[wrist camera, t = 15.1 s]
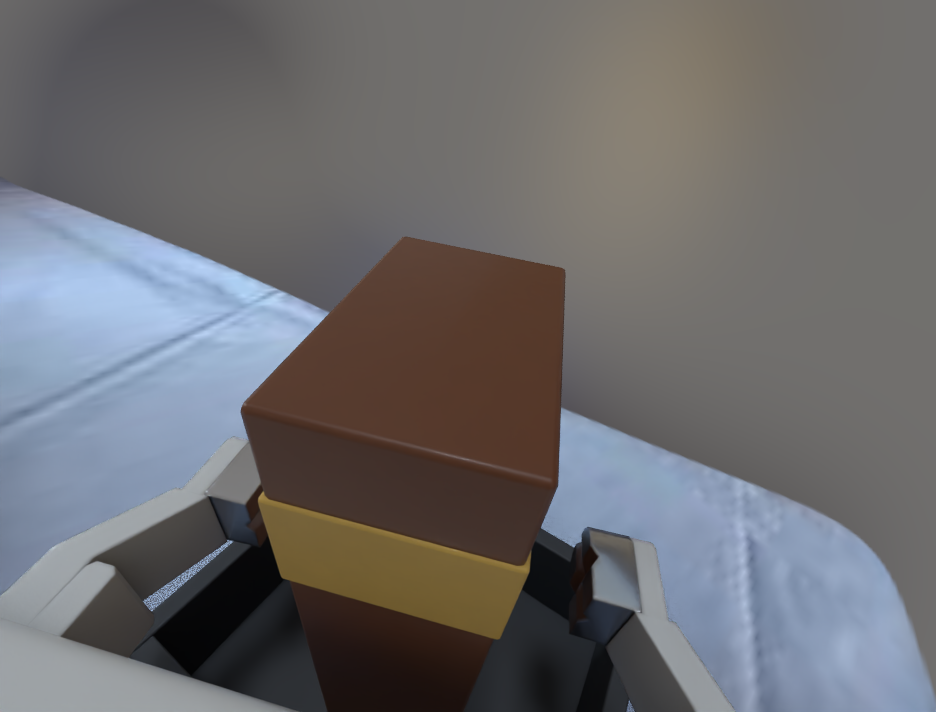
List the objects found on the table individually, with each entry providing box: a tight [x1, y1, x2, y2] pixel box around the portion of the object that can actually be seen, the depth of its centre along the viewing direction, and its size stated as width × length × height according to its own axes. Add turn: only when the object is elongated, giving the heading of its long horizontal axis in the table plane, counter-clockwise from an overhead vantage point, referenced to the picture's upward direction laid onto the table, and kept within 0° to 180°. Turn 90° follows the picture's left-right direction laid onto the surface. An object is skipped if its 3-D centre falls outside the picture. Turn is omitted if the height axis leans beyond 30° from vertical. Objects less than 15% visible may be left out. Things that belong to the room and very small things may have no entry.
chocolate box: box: [241, 237, 565, 712], centre depth 10 cm, size 3×5×14 cm, turn 168°
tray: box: [129, 528, 629, 712], centre depth 13 cm, size 12×10×4 cm
